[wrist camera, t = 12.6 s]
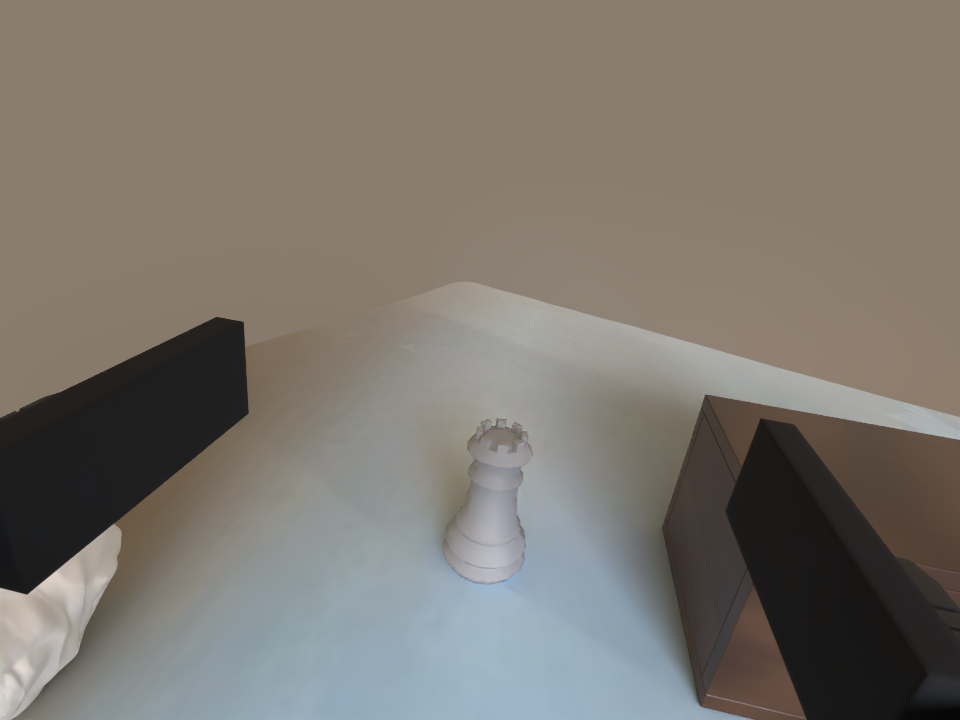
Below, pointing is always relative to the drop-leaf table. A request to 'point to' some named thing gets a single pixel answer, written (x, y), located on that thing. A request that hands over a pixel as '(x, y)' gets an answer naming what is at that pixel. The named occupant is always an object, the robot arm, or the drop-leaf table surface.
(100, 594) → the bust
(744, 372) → the drop-leaf table surface
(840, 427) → the cabinet
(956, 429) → the drop-leaf table surface
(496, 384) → the drop-leaf table surface
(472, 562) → the rook chess piece
